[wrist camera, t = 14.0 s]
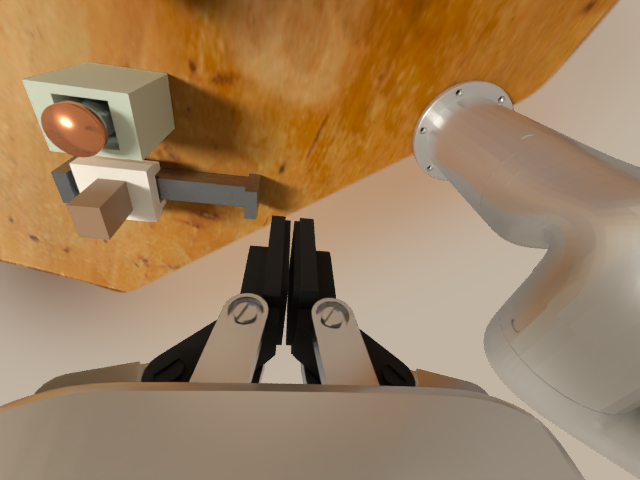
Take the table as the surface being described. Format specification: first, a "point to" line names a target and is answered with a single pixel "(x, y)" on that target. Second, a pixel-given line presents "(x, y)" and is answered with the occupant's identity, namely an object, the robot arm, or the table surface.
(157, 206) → the carriage
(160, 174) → the rail
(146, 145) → the pale green open box
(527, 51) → the table surface
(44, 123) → the jar with copper lid
